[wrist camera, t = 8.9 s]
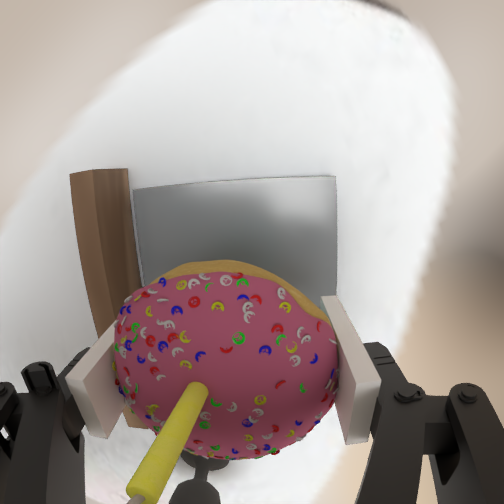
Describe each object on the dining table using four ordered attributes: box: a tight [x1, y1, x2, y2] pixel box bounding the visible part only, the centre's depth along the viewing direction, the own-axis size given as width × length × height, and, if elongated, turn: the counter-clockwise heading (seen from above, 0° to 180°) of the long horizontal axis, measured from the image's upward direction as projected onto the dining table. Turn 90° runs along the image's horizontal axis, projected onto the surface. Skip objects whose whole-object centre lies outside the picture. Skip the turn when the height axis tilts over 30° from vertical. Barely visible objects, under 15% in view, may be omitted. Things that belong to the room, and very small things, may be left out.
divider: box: [70, 169, 149, 429], centre depth 20 cm, size 2×18×5 cm, turn 3°
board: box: [133, 176, 337, 309], centre depth 21 cm, size 13×13×1 cm
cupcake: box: [112, 260, 340, 504], centre depth 10 cm, size 9×8×12 cm
